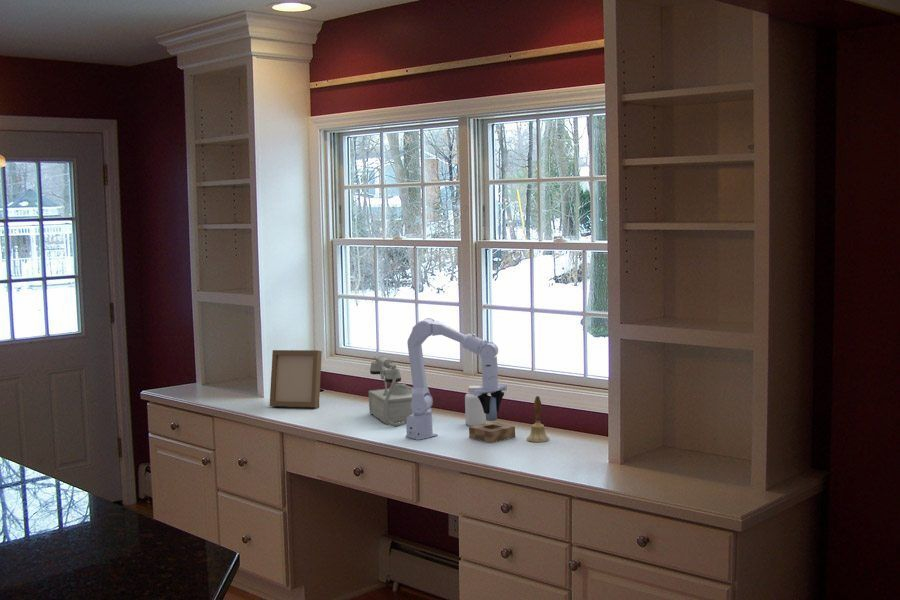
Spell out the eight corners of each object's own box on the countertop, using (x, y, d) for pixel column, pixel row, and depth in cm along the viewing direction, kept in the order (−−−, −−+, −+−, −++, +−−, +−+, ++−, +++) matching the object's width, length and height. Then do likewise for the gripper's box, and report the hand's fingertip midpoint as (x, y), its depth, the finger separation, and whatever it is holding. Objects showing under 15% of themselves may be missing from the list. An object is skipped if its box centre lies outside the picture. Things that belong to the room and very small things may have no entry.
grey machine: (434, 423, 389) (431, 360, 387) (385, 429, 382) (382, 365, 380) (408, 408, 419) (406, 350, 417) (362, 413, 412) (359, 354, 410)
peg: (491, 421, 358) (490, 399, 357) (483, 419, 361) (482, 398, 360) (499, 419, 360) (498, 397, 359) (491, 418, 363) (490, 396, 362)
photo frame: (314, 409, 424) (312, 352, 422) (269, 408, 431) (266, 351, 429) (328, 402, 438) (326, 347, 436) (284, 402, 445) (282, 347, 443)
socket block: (490, 443, 353) (490, 432, 352) (469, 437, 362) (468, 427, 361) (515, 437, 360) (514, 426, 360) (493, 432, 369) (493, 421, 369)
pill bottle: (489, 425, 381) (488, 387, 380) (470, 427, 378) (469, 389, 377) (481, 421, 389) (479, 384, 387) (462, 423, 386) (461, 386, 384)
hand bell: (551, 437, 358) (550, 394, 356) (547, 442, 350) (546, 398, 348) (529, 436, 360) (527, 394, 358) (524, 442, 352) (523, 398, 351)
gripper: (482, 380, 351) (483, 417, 352) (512, 374, 360) (513, 410, 361) (469, 377, 357) (470, 414, 358) (499, 372, 366) (500, 408, 367)
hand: (491, 412), depth 360 cm, fingers closed on peg, 4 cm apart
